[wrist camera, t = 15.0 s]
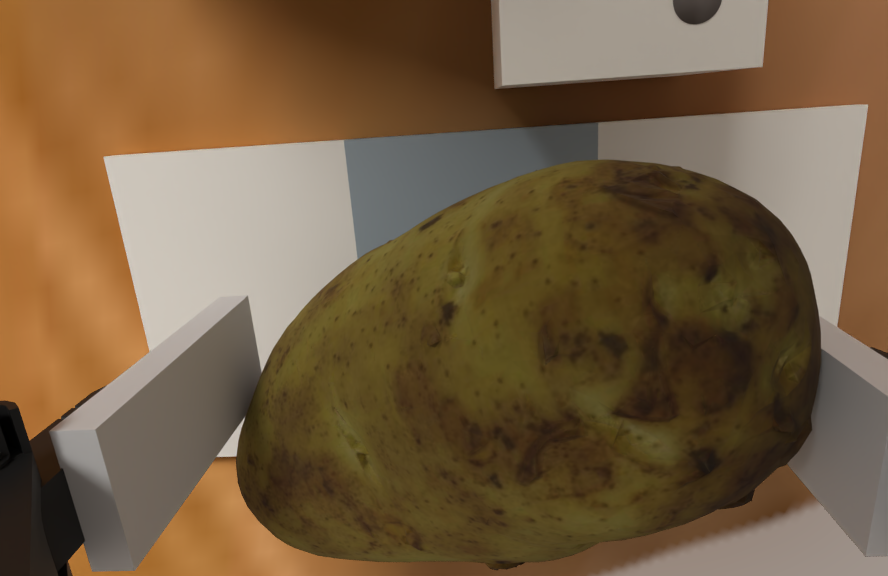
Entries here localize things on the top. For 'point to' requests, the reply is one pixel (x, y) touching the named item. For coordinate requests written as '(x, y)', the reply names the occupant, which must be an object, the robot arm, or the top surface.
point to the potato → (539, 373)
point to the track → (439, 201)
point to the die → (622, 39)
